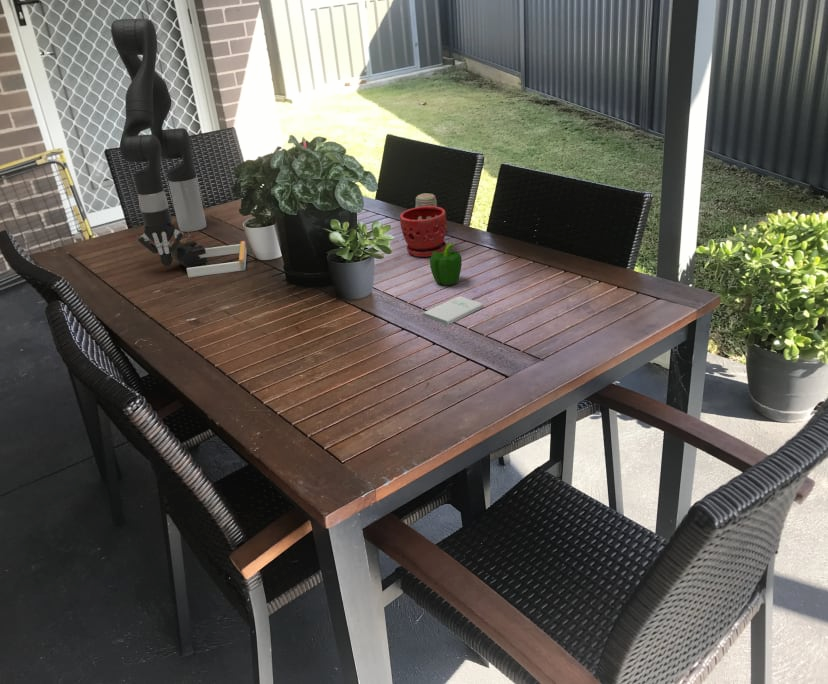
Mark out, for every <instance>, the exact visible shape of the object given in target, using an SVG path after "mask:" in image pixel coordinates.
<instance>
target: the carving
mask: <svg viewBox="0 0 828 684" xmlns="http://www.w3.org/2000/svg"><path fill="white" fill-rule="evenodd" d="M423 206H434V207H438V203H437V198H436V195H435V194H433V193H425V192H424V193H421V194H418V195H417V196H416V197H415V207H414V208H417V207H423ZM436 216H437V215H435V217H436ZM429 218H432V217H430V216H427V217H426V219H429ZM418 220H422V217H421V216H419V217H418Z"/></svg>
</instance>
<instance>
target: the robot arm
mask: <svg viewBox="0 0 828 684" xmlns="http://www.w3.org/2000/svg"><path fill="white" fill-rule="evenodd" d="M110 32H111V37H112V41H113V44H114V46H115V49H116V51H117V53H118V55H119V57H120V60H121V61H122V63H123V65H124V67H125V69H126V71H127V73H128V75H129V78H130V80H131V82H130V84H129V86H128V88H127V91H126V93H125V99H124V100H125V101H124V102H125V122H124V125H123V131H122V134H121V137H120V142H119V152H120V155H121V157H122V159H123V160H124V161H126V162H127V163H132V164H133V163H143V162H144V163H145V162H147V164H148V166H147V168H145V169H141V170H138V171H136V172H134V174H133V179H134V184H135V188H136V192H137V197H138V204H139V206H138V207H139V209H140V212H141V217H142V220H143V225H144V229H143V232H144V233H143V234H142V235H140V236H139V238H138V242H139V243H140V244H142V245H143V246H144V247H145V248H147V250H149V251H150V252H151V253H153V254H158V255H159V258H160V261H161V264H162V265H164V267H171V265H172V264H173V256H172V251H175V249H176V247H177V245H178V244H179V242H181V240H182V238H183V237H184V233H185V232H186V233H190V232H196V231H200V230H203V229H205V228H206V227H208V226H207V220H206V215H205V210H204V205H203V201H202V195H201V191H200V187H199V182H198V177H197V171H196V167H195V162H194V158H193V151H192V144H191V138H190V134H189V131H187V129H186V128H184V127H181V128H170V129H169V128H168V129H163V125H164V122H165V120H166V118H167V116H168V115H169V112H170V110H171V108H172V98H171V94H170V91H169V89H168V86H167V84H166V83H167V82H166V81H165V80H164V79H163V77H162V76H161V75H159V73H157V72H156V66H157V65H156V63H157V53H158V39H157V38H158V37H157V36H158V35H157V31H156V27H155V25H154V24H153V22H152V20H150V19H148V18H120V19H115V20H113V21H112V22H111V26H110ZM139 56H142V59H141V58H140V57H139ZM148 129H150V133H151V134H150V133H149V134H140V133H141V132H144V131H145V130H148ZM161 159H164V160H170V159H171V160H172V159H173V160H174V159H182V162H181V163H180V164H178V165H176V166H174V167H173V168H171V169H168V170H167V172H166V177H167V180H168V185H169V189H170V194H171V199H172V203H173V207H174V211H175V217H176V221H177V225H178V229H179V230H178V229H176V227H175V225H174V224H173V221H172V217H171V212H170V208H169V203H168V198H167V195H166V193H165V190H164V185H163V181H162V174H161ZM173 235H174V241H173V243H172V245H171V244H170V240H171V239H172V237H173ZM149 239H150V240H149ZM153 243H154V244H153Z"/></svg>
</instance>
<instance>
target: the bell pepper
mask: <svg viewBox="0 0 828 684" xmlns="http://www.w3.org/2000/svg"><path fill="white" fill-rule="evenodd" d="M454 246H455V244H454V243H449V244H446V248H445V249H444V251H442V252H441V253H440V252H433V254H432V256H430V259H429V266H430V267H429V268H430V270H431V274H432V277H433V279H434V281H435V283H436V284H439V285H445V286H452V285H455V284H457V282H458V281H459V279H460V276H461V270H462V265H463V262H462V260H463V259H462V256H461V253H460V251H459V250H452V249H450V248H454Z"/></svg>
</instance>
